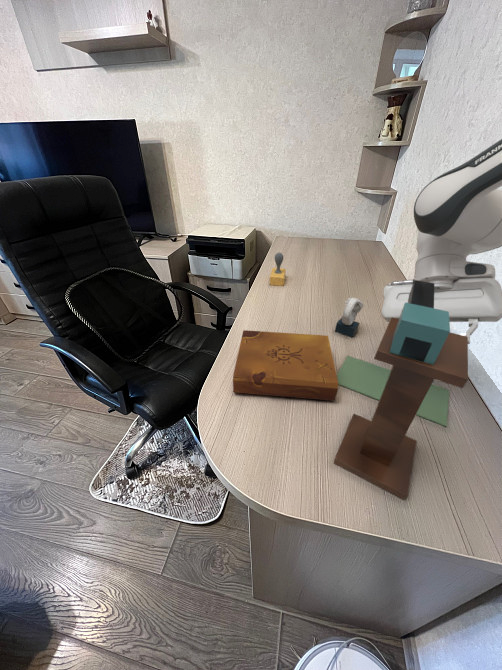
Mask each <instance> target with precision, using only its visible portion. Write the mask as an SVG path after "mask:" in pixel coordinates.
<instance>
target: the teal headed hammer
mask: <svg viewBox="0 0 502 670" xmlns="http://www.w3.org/2000/svg"><path fill="white" fill-rule="evenodd" d="M450 332H451V322H449V312H448V311H444V310H439V309H434V283H429V282H424V281H418V280H414V283H413V286H412V288H411V291H410V294H409V298H408V303H405V304H404V306H403V309H402V312H401V315H400V318H399V320H398V323H397V326H396V329H395V332H394V335H393V339H392V344H391V348H390V353H393V354H396V355H400V356H403V357H407V358H411V359H414V360H418V361H421V362H425V363H428V364H432V365H434V363H435V361H436V359H437V357H438V355H439V353H440V351H441V349H442V347H443V345H444V343H445V341H446V339H447V337H448V335H449V333H450Z"/></svg>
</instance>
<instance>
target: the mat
mask: <svg viewBox="0 0 502 670" xmlns="http://www.w3.org/2000/svg"><path fill="white" fill-rule="evenodd" d="M390 371H391V369H388V368H386V367H383V366H381V365H377V364H374V363H371V362H368V361H365V360H362V359H359V358H356V357H354V356H350V355H347V356H346V358H345V359H344V361H343V363H342V365H341V366H340V368H339V370H338V372H337V373H336V374H337V379H338V386H339V387H343V388H345V389H347V390H350V391H353V392H355V393H358V394H360V395H362V396H366V397H367V398H371V399H373V400H375V401H378V402H379V400H380V397H381V394H382V392H383V389H384V387H385V384H386V381H387V379H388V376H389V374H390ZM449 399H450V389H447V388H445V387H442V386H439V385H436V384H433V383H432V384H431V386H430V388H429V390H428V392H427V394H426V396H425V398H424V400H423V402H422V404H421V406H420V408H419V410H418V411H417V413H416V415H415V417H419V418H421V419H423V420H425V421H426V420H427V421H429V422H431V423H433V424H437V425H439V426H442V427H444V428H447V427H448V415H449V402H450V401H449Z"/></svg>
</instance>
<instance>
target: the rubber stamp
mask: <svg viewBox="0 0 502 670" xmlns="http://www.w3.org/2000/svg"><path fill="white" fill-rule="evenodd" d="M283 261H284V255H283V253H282V252H277V253H276V254H275V255H274V262H275V265H276V267H272V268H271V271H270V275H269V285H270V286H279V287H283V286H285V279H286V270H287V269H286V268H281V266H282V264H283Z"/></svg>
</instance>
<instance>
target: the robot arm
mask: <svg viewBox="0 0 502 670" xmlns="http://www.w3.org/2000/svg"><path fill="white" fill-rule="evenodd" d="M501 187H502V138H501V139H499V140H498V141H496V142H495V143H493V144H492V145H491V146H489V147H487V148H486V149H484V150H483V151H481V152H480V153H478V154H477V155H475V156H473V157H472V158H470V159H469V160H467V161H466V162H464V163H462V164H460V165H458V166H457V167H454V168H452V169H450V170H448V171H445V172H444V173H442V174H441V175H439V176H436V178H434V179H433V180H431V181H430V182H429V183H428V184H426V185H425V186H424V187H423V188H422V190H421V191H420V192H419V194H418V196H417V197H416V200H415V202H414V205H413V219H414V223H415V226H416V228H417V230H418V232H417V239H416V251H417V259H416V260H415V264H414V275H413V279H405V280H394V281H391V282H389V283H387V284H386V285H385V286H384V287H383V294H382V296H383V301H382V308H381V316H382V318H383V319H384V320H385V321H386V322H388V323H389V322H390V319H391V317H393V318H397V319H399V318H400V315H401V312H402V309H403V306H404V304H405V303H408V298H409V294H410V291H411V288H412V286H413V283H414V280H418V281H424V282H429V283H434V309H439V310H444V311H448V312H449V322H450V323H468V329H467V330H466V332H460V334H459V335H462V336H466V337H468V345H470V344H471V336H472V335H473V334H474V333H475V331H476V330H477V329H478V328H479V327H478V326H479V323H497V322H499V321H500V320H502V285H501V284H500V282H499V281H498V280H497V279H496V268H495V266H494V265H493V264H490V263H482V262H476V261H475V262H474V261H469V260H467V257H468V256H470V255H479V254H482V253H487V252H490V251H493V250H496V249H499V248H501V247H502V189H500V188H501Z"/></svg>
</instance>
